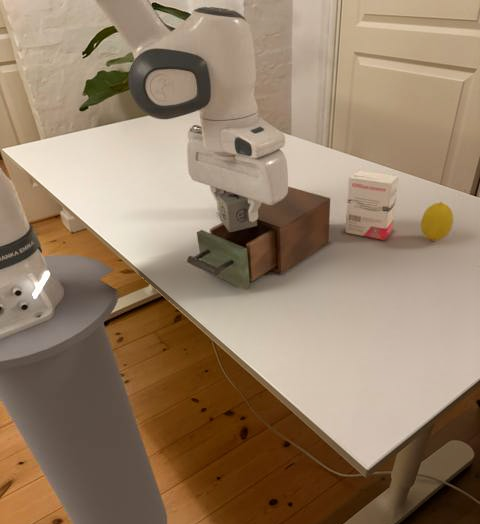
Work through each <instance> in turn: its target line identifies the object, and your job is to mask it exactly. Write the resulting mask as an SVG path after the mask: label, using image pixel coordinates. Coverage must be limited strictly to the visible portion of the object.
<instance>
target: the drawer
mask: <svg viewBox="0 0 480 524" xmlns="http://www.w3.org/2000/svg"><path fill="white" fill-rule="evenodd" d="M196 239H197V243H198V251H199V253H198V254H196V255H194V256H193V255H189V256H188V257H187V259H186V262H187V264H188V265H192V266H193V267H195V268H197V269H199V270H201V271H203V272H206V273H208V274H209V275H212V276H213V277H217V278H219V279H221V280H223V281H225V282H227V283H228V284H231V285H233V286H235V287H237V288H239V289H241V290H243V291H247V290H248V289H250V288H251V283H250V282H254V281H255V280H256V279H258V278H260V277H261V276H264V274H266V273H268V272H269V271H272V270H271V269H272V268H274V267H275V266H277V265H278V254H277V230H276V229H273V228H270V227H267V226H264V225H262V224H259V223H257V226H254V227H250V228H246V229H242V230H238V231H234V232H229V231H228V229H227V228H226V227H225V226H224V224H223V223H222V222H220V223H219V224H217V225H215V226H213V227H211V228H209V232H208V231H205V230H203V229H200V230H198V231H197V232H196Z"/></svg>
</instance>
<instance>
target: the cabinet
mask: <svg viewBox="0 0 480 524" xmlns="http://www.w3.org/2000/svg"><path fill="white" fill-rule="evenodd" d="M330 214H331V197H327V196H323V195H320V194H317V193H313V192H310V191H306V190H303V189H299V188H295V187H291V186H288V193H287V195H286V196H285V198H284V199H283V200H281V201H279V202H278V203H276V204H273V205H268V204H265V203H261V205H260V207H259V209H258V219H257V223H259V224H262V225H264V226H267V227H270V228H273V229H276V230H277V254H278V265H277V266H275V267H274V268H272V269H271V270H270V271H273V272H275V273H278V274H280V275H283V273H285V272H287V271H288V270H290V269H291V268H293V267H294V266H296V265H297V264H299V263H300V262H302V261H303V260H305V259H306V258H308V257H310V256H311V255H313V254H314V253H315V252H317V251H319V250H320V249H322V248H324V247H325V246H327V245H329V240H330V239H329V238H330V217H331V216H330Z"/></svg>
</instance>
